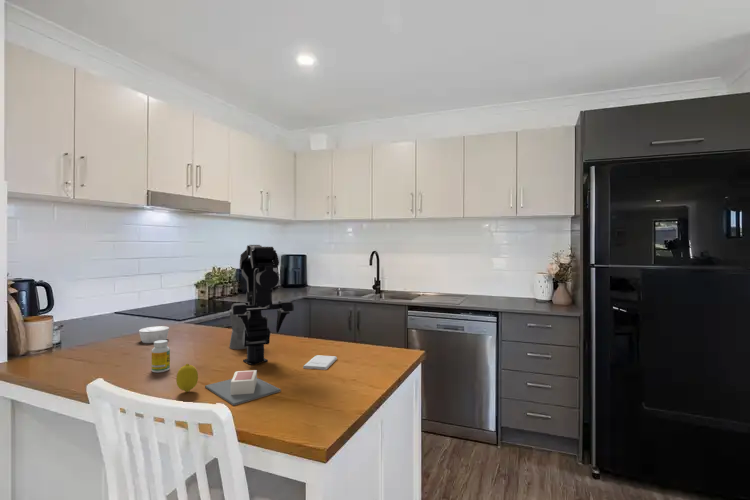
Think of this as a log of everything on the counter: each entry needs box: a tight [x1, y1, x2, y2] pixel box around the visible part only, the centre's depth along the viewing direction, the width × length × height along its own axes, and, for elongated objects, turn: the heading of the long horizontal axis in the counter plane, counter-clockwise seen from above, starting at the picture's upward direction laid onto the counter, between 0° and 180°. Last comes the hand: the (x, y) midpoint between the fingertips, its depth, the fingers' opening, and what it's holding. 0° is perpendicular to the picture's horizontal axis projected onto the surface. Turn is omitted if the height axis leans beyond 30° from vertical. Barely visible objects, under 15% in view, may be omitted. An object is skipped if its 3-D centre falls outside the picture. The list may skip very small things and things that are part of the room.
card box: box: [231, 369, 258, 395], centre depth 111 cm, size 6×9×4 cm, turn 12°
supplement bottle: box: [150, 339, 171, 374], centre depth 129 cm, size 5×5×10 cm
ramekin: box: [138, 325, 170, 344], centre depth 168 cm, size 11×11×5 cm
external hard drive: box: [302, 354, 338, 371], centre depth 137 cm, size 2×8×12 cm
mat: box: [204, 377, 282, 406], centre depth 112 cm, size 18×14×1 cm
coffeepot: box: [229, 309, 249, 350], centre depth 160 cm, size 15×9×18 cm, turn 44°
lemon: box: [175, 363, 199, 393], centre depth 110 cm, size 6×6×8 cm
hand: (262, 334), depth 125 cm, fingers open, 9 cm apart
